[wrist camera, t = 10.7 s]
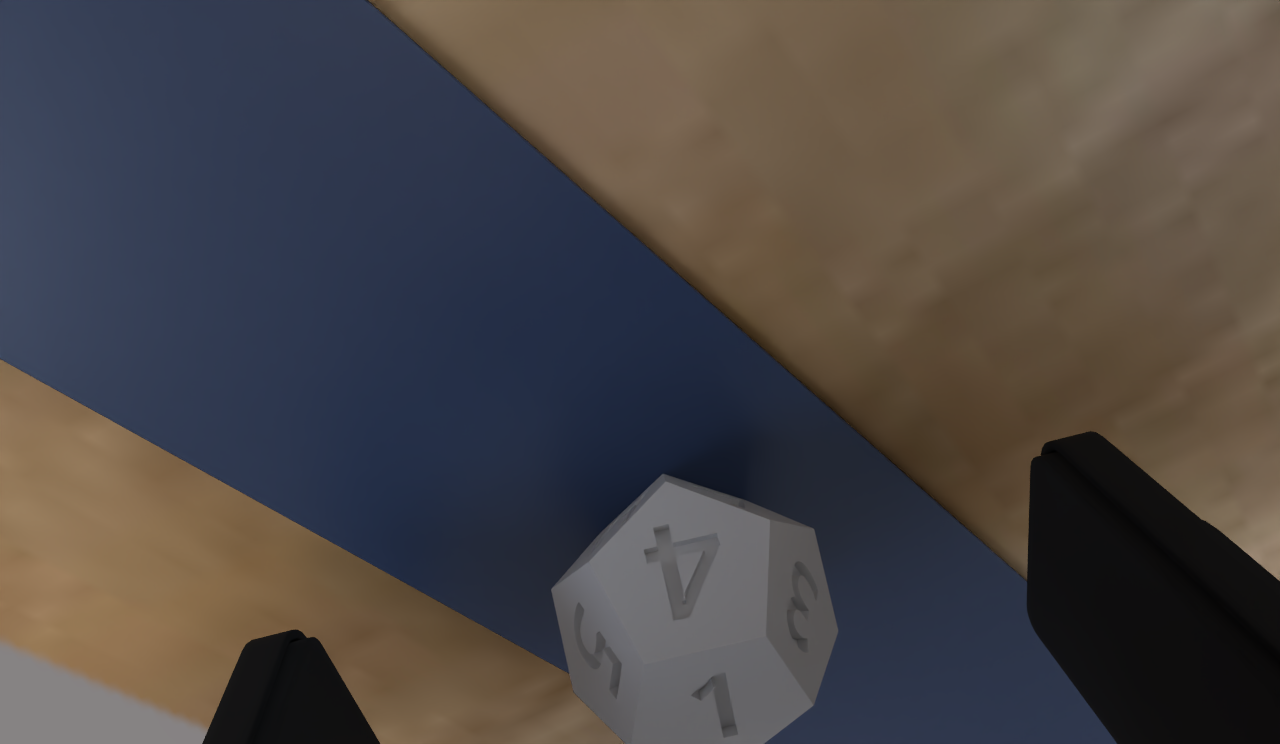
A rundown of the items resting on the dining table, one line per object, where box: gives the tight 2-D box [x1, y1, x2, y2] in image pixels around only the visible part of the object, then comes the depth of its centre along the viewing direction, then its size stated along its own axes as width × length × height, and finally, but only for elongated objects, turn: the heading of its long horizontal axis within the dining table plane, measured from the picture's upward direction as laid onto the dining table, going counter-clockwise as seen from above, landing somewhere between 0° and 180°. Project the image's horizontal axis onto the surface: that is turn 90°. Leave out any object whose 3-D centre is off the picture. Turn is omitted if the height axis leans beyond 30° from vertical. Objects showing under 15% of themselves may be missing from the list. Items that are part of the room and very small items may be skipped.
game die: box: [551, 474, 838, 744], centre depth 10 cm, size 4×4×3 cm
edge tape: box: [0, 0, 1117, 744], centre depth 12 cm, size 6×24×1 cm, turn 47°
